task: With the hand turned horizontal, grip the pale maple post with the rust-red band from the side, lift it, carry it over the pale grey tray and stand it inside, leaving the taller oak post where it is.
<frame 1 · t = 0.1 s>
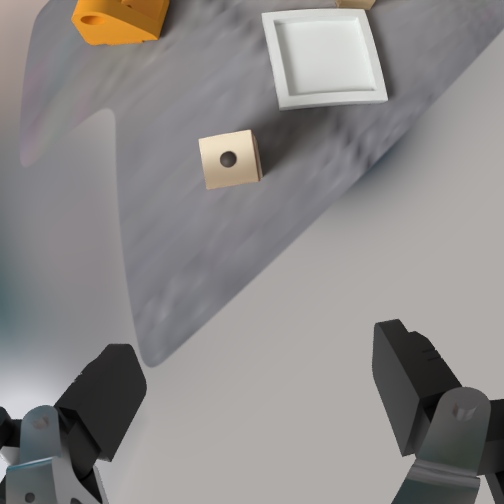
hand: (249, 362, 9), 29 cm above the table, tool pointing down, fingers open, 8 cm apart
bracket: (132, 23, 31), on the table
tray: (322, 58, 31), on the table
maple post: (241, 161, 36), on the table
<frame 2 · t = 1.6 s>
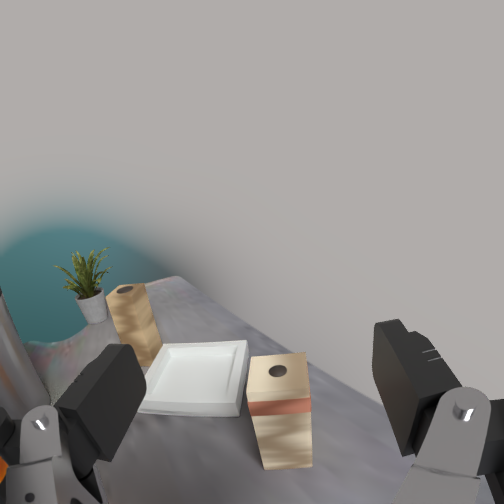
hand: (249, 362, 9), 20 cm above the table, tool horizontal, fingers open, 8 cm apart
tray: (197, 382, 38), on the table
house plant: (102, 318, 61), on the table
maple post: (288, 451, 25), on the table
oak post: (147, 358, 45), on the table
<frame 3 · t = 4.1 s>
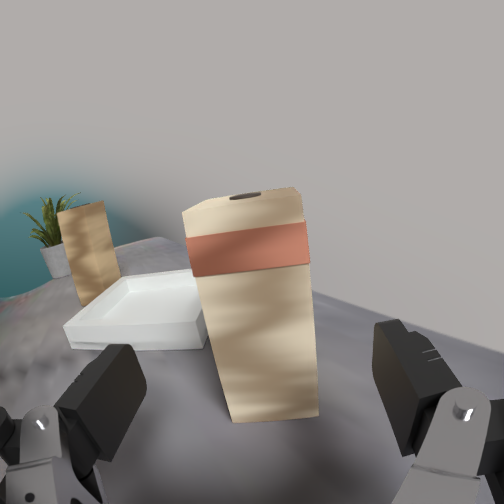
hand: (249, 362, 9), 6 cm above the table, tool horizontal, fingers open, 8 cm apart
tray: (154, 315, 29), on the table
house plant: (69, 273, 52), on the table
maple post: (275, 393, 16), on the table
oak post: (103, 298, 36), on the table
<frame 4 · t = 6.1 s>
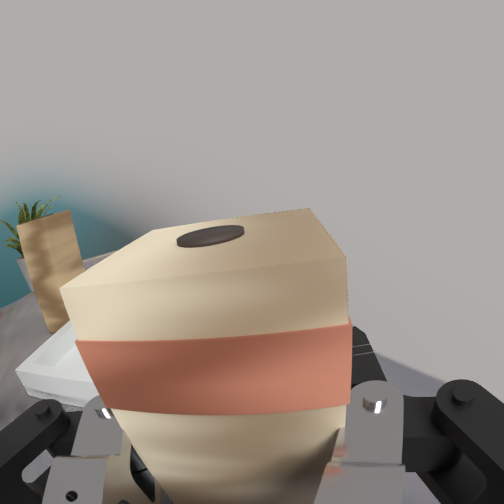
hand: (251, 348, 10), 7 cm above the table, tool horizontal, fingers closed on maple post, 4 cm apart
tray: (125, 356, 22), on the table
house plant: (48, 286, 45), on the table
maple post: (270, 503, 9), on the table, touching gripper
oak post: (74, 323, 29), on the table
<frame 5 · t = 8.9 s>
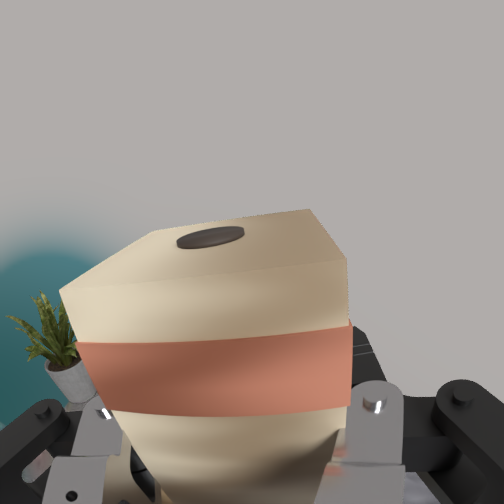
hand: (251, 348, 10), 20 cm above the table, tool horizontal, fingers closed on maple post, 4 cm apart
house plant: (89, 393, 36), on the table
maple post: (271, 503, 9), point 13 cm above the table, touching gripper
when the fingers open (9 cm above the table, at t = 11.5 s): maple post drops 2 cm, resting on tray.
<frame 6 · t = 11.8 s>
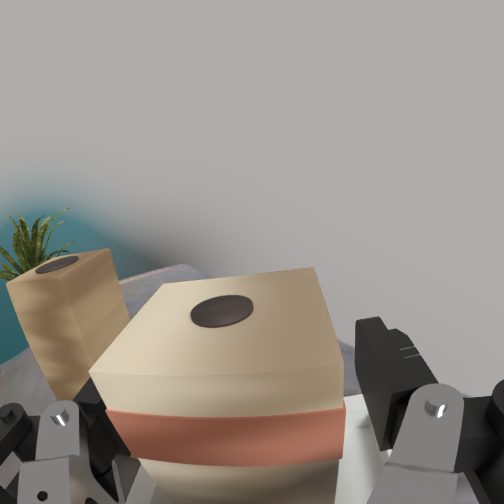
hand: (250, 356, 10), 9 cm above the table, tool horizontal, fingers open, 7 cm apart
house plant: (60, 331, 33), on the table
oak post: (128, 432, 17), on the table
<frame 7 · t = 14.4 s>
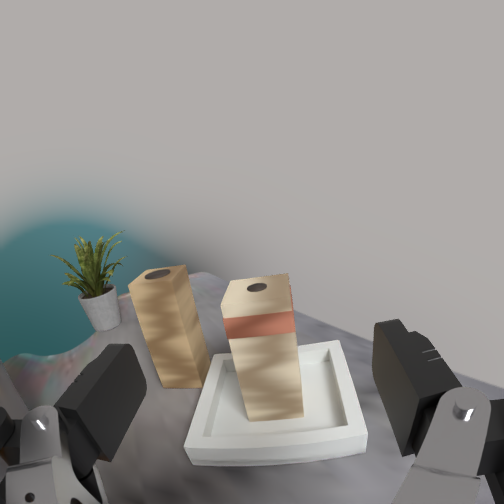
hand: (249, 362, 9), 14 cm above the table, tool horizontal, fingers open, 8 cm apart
tray: (278, 408, 24), on the table
house plant: (114, 324, 48), on the table
maple post: (277, 402, 24), point 1 cm above the table, touching tray
oak post: (187, 375, 31), on the table
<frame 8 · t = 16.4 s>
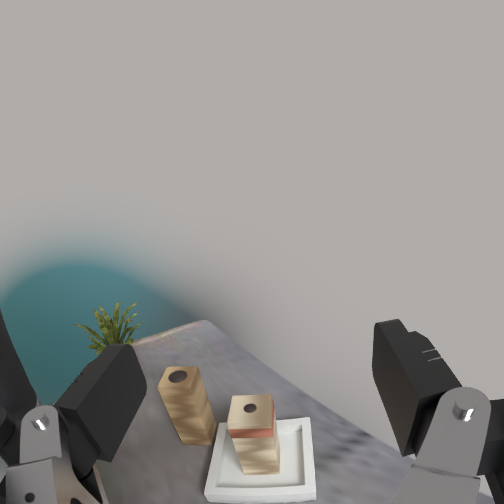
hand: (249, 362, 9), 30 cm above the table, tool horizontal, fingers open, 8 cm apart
tray: (263, 464, 33), on the table
house plant: (133, 376, 56), on the table
maple post: (263, 461, 33), point 1 cm above the table, touching tray
oak post: (200, 434, 40), on the table
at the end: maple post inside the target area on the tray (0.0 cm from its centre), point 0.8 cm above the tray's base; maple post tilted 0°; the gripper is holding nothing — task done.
